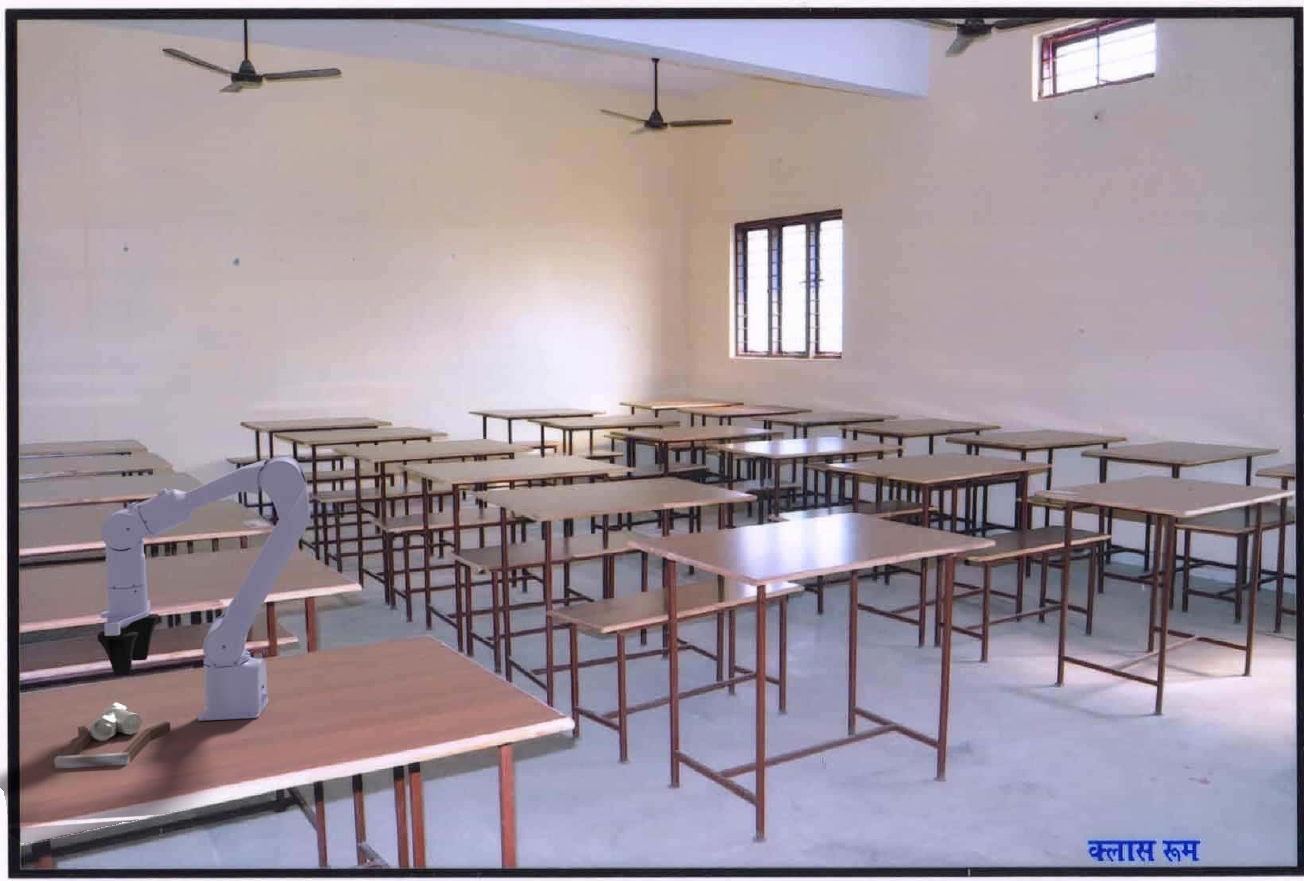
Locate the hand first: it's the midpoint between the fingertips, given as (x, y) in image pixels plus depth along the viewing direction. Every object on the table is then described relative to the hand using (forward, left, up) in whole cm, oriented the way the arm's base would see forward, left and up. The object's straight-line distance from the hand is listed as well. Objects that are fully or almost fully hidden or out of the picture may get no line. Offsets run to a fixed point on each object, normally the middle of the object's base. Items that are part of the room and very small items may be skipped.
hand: (131, 667), depth 165 cm
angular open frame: (0, +12, -9) cm, 15 cm away
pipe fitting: (-3, +2, -8) cm, 9 cm away
